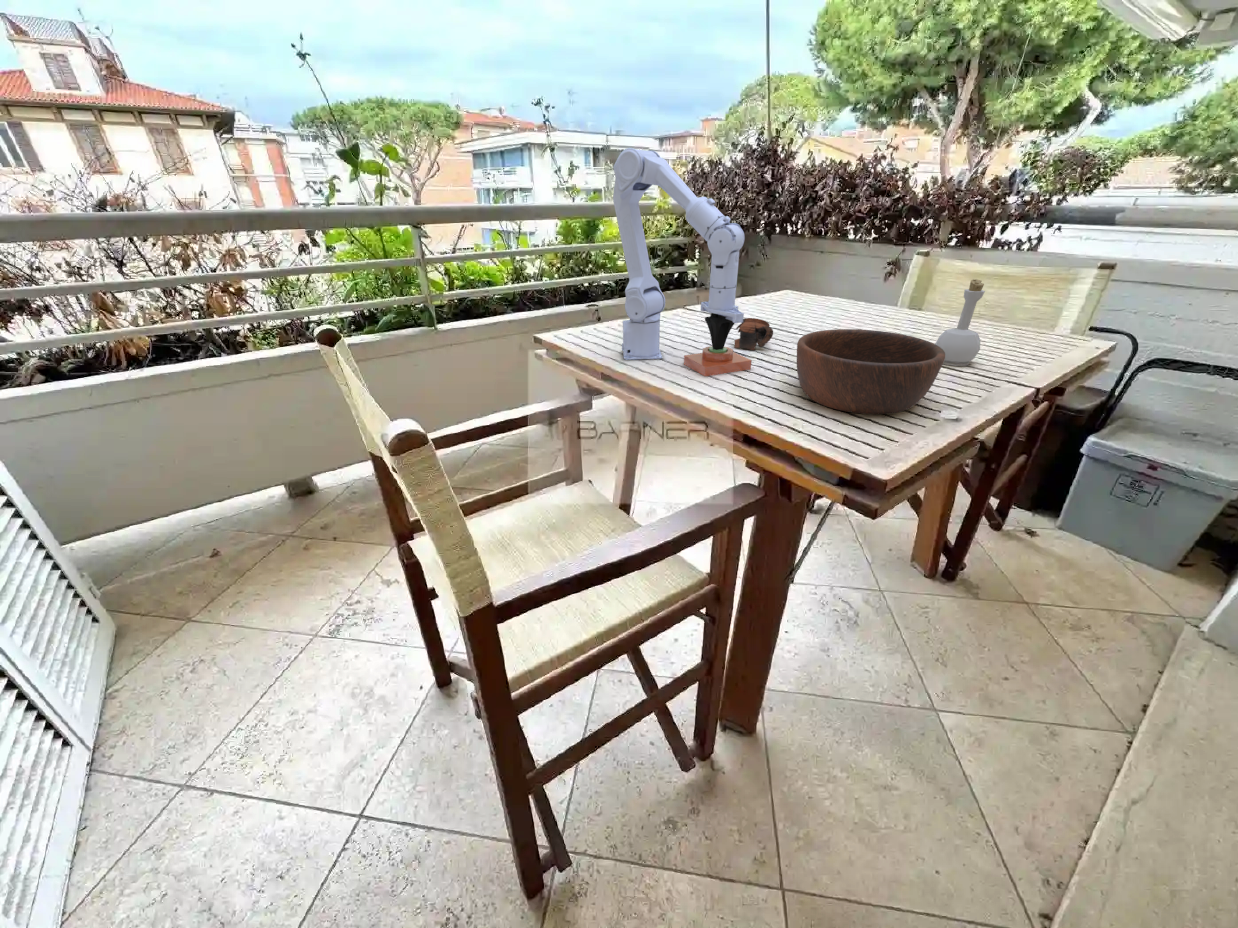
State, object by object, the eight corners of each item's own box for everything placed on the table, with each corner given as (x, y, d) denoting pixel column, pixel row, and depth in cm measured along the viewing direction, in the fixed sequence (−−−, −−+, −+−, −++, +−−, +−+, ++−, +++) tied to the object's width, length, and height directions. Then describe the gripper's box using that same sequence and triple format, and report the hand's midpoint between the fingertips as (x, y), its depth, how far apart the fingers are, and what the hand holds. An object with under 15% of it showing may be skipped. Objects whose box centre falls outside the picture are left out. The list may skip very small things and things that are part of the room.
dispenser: (704, 376, 107) (706, 359, 105) (683, 364, 115) (684, 347, 113) (750, 369, 111) (752, 352, 109) (726, 358, 119) (728, 341, 117)
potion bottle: (961, 356, 116) (987, 277, 107) (982, 367, 108) (1012, 283, 100) (923, 356, 117) (946, 277, 108) (940, 367, 109) (967, 283, 101)
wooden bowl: (951, 398, 93) (969, 345, 88) (891, 434, 80) (907, 375, 75) (831, 368, 110) (840, 322, 105) (764, 394, 97) (771, 343, 92)
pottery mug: (723, 347, 129) (731, 317, 128) (747, 358, 134) (755, 329, 133) (757, 345, 118) (766, 312, 118) (782, 357, 124) (790, 326, 123)
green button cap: (714, 360, 110) (715, 351, 109) (705, 356, 113) (705, 347, 112) (729, 358, 111) (730, 349, 110) (720, 354, 114) (720, 345, 113)
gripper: (758, 290, 100) (751, 354, 106) (720, 280, 111) (716, 339, 118) (729, 292, 97) (723, 358, 104) (694, 283, 109) (691, 342, 116)
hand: (718, 348), depth 111 cm, fingers closed, pressing on green button cap
